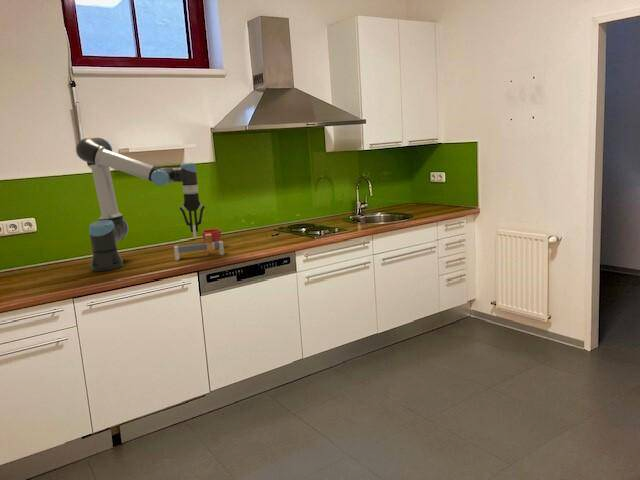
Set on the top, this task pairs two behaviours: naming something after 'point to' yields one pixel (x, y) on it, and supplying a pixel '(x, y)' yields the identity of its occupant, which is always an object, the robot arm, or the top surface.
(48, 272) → the top surface
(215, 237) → the flower pot
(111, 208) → the robot arm
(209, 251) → the collar
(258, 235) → the top surface
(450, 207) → the top surface
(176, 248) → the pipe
